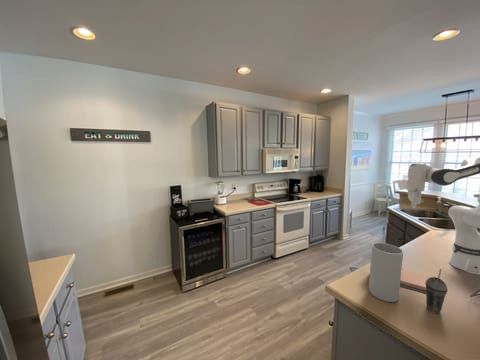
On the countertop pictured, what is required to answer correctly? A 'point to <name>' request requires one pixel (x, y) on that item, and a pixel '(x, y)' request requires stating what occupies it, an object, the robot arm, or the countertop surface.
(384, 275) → the cylinder vase
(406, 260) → the countertop surface
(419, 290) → the mat
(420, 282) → the tile
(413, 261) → the countertop surface
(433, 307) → the beverage cup
